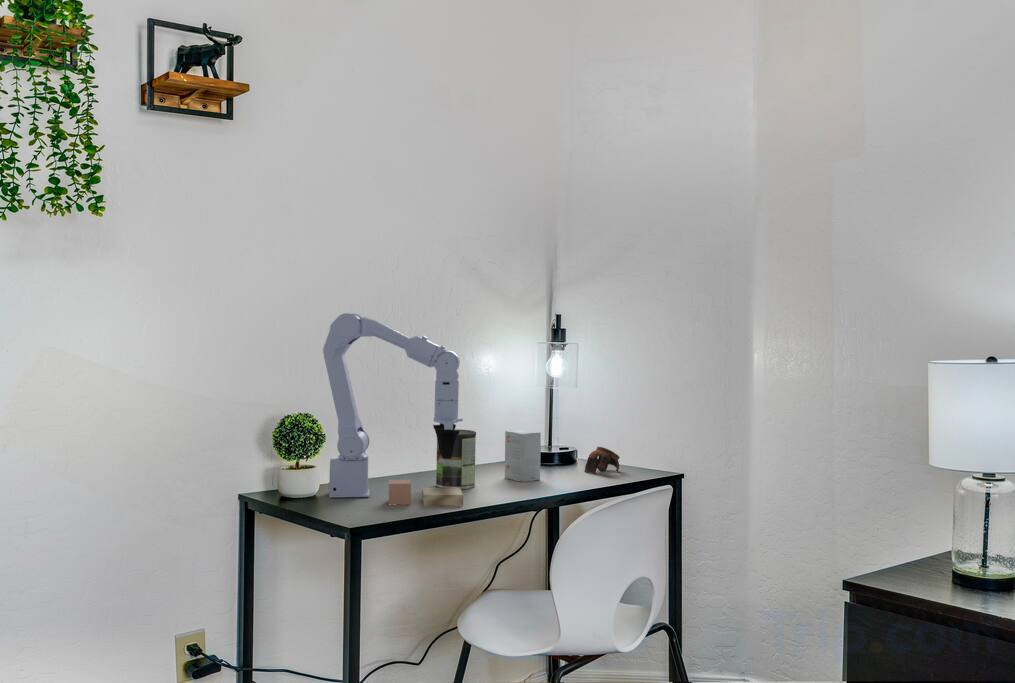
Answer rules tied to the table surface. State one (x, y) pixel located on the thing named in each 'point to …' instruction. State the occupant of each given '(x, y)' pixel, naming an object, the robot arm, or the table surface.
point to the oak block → (442, 496)
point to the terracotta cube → (399, 492)
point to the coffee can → (458, 463)
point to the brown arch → (601, 460)
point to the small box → (522, 455)
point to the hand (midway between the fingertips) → (445, 455)
